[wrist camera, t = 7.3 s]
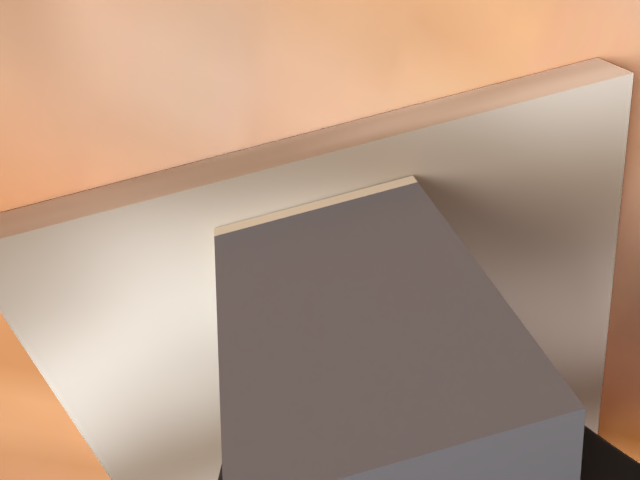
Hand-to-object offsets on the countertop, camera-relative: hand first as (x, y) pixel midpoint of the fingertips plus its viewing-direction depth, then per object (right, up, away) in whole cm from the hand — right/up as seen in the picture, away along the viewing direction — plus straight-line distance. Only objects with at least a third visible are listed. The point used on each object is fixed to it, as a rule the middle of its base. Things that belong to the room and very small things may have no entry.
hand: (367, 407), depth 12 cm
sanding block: (0, +1, +2) cm, 2 cm away
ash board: (0, -1, +4) cm, 4 cm away
